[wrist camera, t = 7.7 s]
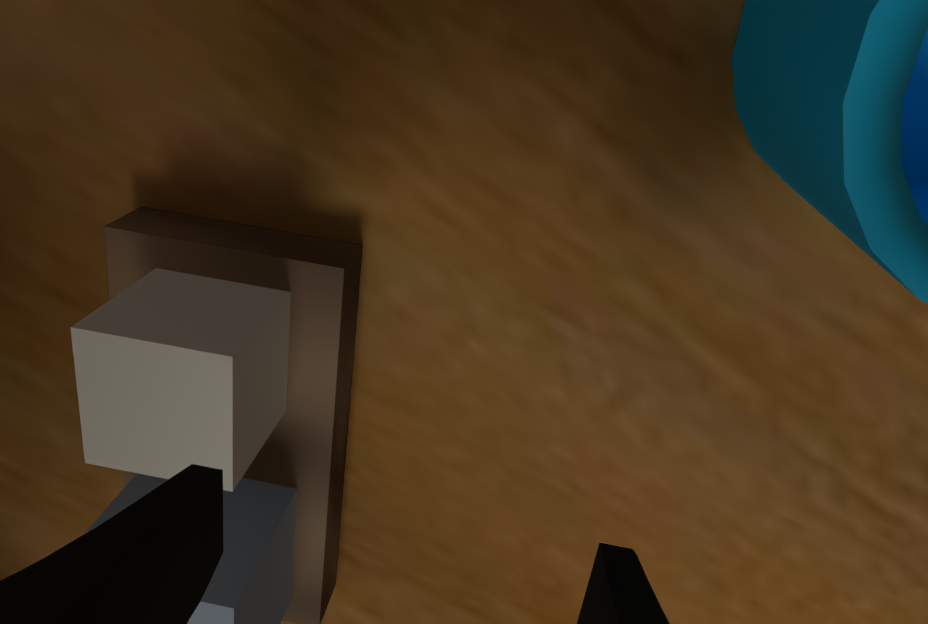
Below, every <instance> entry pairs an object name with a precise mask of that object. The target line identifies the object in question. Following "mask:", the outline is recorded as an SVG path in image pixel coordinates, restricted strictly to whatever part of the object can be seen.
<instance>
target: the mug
mask: <svg viewBox="0 0 928 624" xmlns="http://www.w3.org/2000/svg"><path fill="white" fill-rule="evenodd" d="M732 68H733V82H734V95H735V108H736V110H737V113H738V115H739V117H740V119H741V122H742V124H743V126H744V129H745V131H746V133H747V135H748V138H749V140H750V142H751V145H752V147H753V149H754V151H755V152H756V153H757V154H758V155H759V156H760V157H761V158H762V159H763V160H764V161H765V162H766V163H767V164H768V165H769V166H770V167H771V168H772V169H773V170H774V171H775V172H776V173H777V174H778V175H779V176H780V177H781V179H782V180H783V181H784V182H785V183H787V184H788V185H789V186H790V187H791V188H792V189H793V190H795V191H796V192H797V193H798V194H799V195H800V196H801V197H803V198H804V199H805V200H806V201H807V202H808V203H809V204H811V205H812V206H813V207H814V208H815V209H816V210H817V211H818V212H820V213H821V214H822V215H823V216H824V217H825V218H826V219H828V220H829V221H830V222H831V223H832V224H833V225H834V226H836V227H837V228H838V229H839V230H840V231H841V232H842V233H844V234H845V235H846V236H847V237H848V238H849V239H850V240H852V241H853V242H854V243H855V244H856V245H857V246H858V247H860V248H861V249H862V250H863V251H864V252H865V253H866V254H868V255H869V256H870V257H871V258H872V259H873V260H874V261H876V262H877V263H878V264H879V265H880V266H881V267H882V268H884V269H885V270H886V271H887V272H888V273H889V274H890V275H892V276H893V277H894V278H895V279H896V280H897V281H898V282H900V283H901V284H902V285H903V286H904V287H905V288H906V289H908V290H909V291H910V292H911V293H912V294H913V295H914V296H916V297H917V298H918V299H919V300H921V301H923V302H926V303H928V0H746V2H745V4H744V8H743V13H742V17H741V21H740V25H739V29H738V34H737V38H736V42H735V46H734V50H733V55H732Z"/></svg>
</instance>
